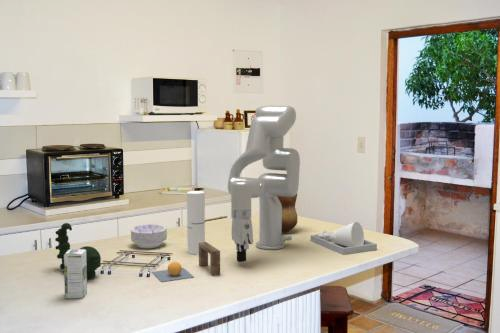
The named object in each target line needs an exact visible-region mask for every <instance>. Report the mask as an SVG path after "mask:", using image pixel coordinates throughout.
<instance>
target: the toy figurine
mask: <svg viewBox="0 0 500 333" xmlns="http://www.w3.org/2000/svg"><path fill="white" fill-rule="evenodd" d="M72 227H73V226H72V225H71V223H69V222H64V223H63V224H62V225H61V227H60V228H59V229H58V230H56V231H55V234H56V235H57V237H56V238H55V239H54V240H55V242H57V243H58V245H55V250H59V252H58V254H57V255H56V258H57V259H59V260H60V259H61V263H60V265H59V268H60V269H61V270H64V254H65V253H66V252H67V251H68V250H70V249H71V243H70V242H69V236H68V231H67V230H69V231H72V230H73V228H72ZM79 249H84V250H86V263H87V280H89V279H93V278H94V277H96V274H97V272H96V270H98V269H99V268H100V267H101V266H102V265H101V261H102V257H101V254H100V252H99V251H98V250H97V249H96V248H95V247H93V246H82V247H79Z"/></svg>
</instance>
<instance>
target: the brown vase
mask: <svg viewBox="0 0 500 333" xmlns="http://www.w3.org/2000/svg"><path fill="white" fill-rule="evenodd" d="M277 197H278V199H279V201H280V202H281V205H282V233H287V232H289V231H291V230H293V229H295V227H296V226H297V225H298V213H297V208H296V203H297V199H298V198H297V197H298V193H297V194H296V195H295V196H293V197H285V196H277Z"/></svg>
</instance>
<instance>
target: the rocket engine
mask: <svg viewBox="0 0 500 333" xmlns="http://www.w3.org/2000/svg"><path fill="white" fill-rule="evenodd" d="M328 233H329V234H328ZM331 233H332V234H331ZM320 234H321V235H318V237H324V240H326V241H328V242H331V243H334V244H336V245H338V246H340V245H341V246H342V247H343V246H344V247H345V248H346V247H353V246H361V245H363V244H364V240H365V233H364V228H363V226H362V225H361V223H359V221H354V222H352V223H349V224H346V225H344V226H342V227H340V228H338V229H336V230H335V231H333V232H330V231H327V230H326V229H324V230H322V233H320Z"/></svg>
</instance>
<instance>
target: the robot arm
mask: <svg viewBox="0 0 500 333" xmlns="http://www.w3.org/2000/svg"><path fill="white" fill-rule="evenodd" d="M296 120H297V112H296V109H295V108H294V107H293V106H290V105H263V106H258V107H257V108H256V109H255V117H253V118H252V119H251V122H250V126H249V130H248V131H249V132H248V136H247V142H246V147H245V150H244V152H243V153H242V154H241V155H240V156H239V157H238V158H237V159H236V160H235V161H234V162H233V164H232V165H231V168H230V170H229V175H228V179H227V181H228V182H227V192H228V193H229V195H230V197H231V198H230V201H231V202H230V204H231V206H230V207H231V208H230V209H231V210H230V212H231V213H230V214H231V215H230V216H231V217H230V218H231V239H232V240H231V241H233V242H234V244H235V248H236V250H235V251H236V261H237V262H238V263H243V262H247V251H248V250H249V249H250V246H249V245H253V244H254V231H253V222H252V199H256V198H257V199H259V240H258V241H257V242H256V243H255V246H256V248H259V249H262V250H281V249H284V248H285V246H286V243H285V242H286V241H292V238H293V237H292V236H291V235H287V236H286V234H285V235H283V232H282V205H281V202H280V201H279V199H278V197H277V196H285V197H293V196H295V195H296V194H297V195H298V191H299V186H300V185H299V183H300V168H301V167H300V165H301V159H300V153H299V152H298V150H297V149H295V148H292V147H291V148H290V147H284V141H285V140H284V139H285V138H284V137H285V136H286V135H287V134H288V133H289V131H290V130H291V129H292V127H293V126H294V124H295V123H296ZM260 160H262V165H263V168H265V169H266V170H271V171H285V172H286V173H276V172H266V173H265V172H264V173H262V174H260V175H259V177H257V178H256V177H243V176H242V177H241V173H242V172H243V170H244V169H246V168H247V167H248V166H249V165H252V164H254V163H255V162H257V161H260Z"/></svg>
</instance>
